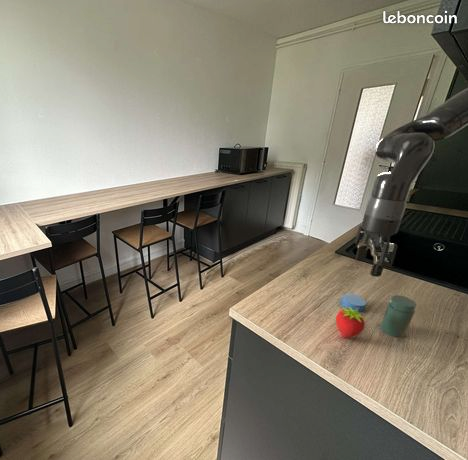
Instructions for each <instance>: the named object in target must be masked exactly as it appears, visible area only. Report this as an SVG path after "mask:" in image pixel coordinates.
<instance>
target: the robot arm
mask: <svg viewBox="0 0 468 460" xmlns="http://www.w3.org/2000/svg"><path fill="white" fill-rule="evenodd" d="M467 126H468V87H466V88H464V89H463V90H462V91H461V90H460V92H458V93H457V94H455V95H453V96H451V97H450V98H449V99H447V100H445V101H444V102H442V103H441V104H439V105H438V106H436V107H435V108H434V109H432V110H431V111H429V112H428V113H426V114H425V115H423V116H421V117H419V118H416V119H414V120H411V121H409V122H408V123H405V124H403V125H401V126H399V127H397V128H396V129H394V130H392V131H390V132H389V133H387V134H386V135H384V136H383V137H382V138H381V140H379V142H378V143H377V144H376V148H375V156H376V157H377V158H378V159H379V160H381V161H383V162H385V163H387V162H388V163H393V164H394V166H393V167H392V169H391V170H390V171H389V172H382V173H380V174H378V175H377V176H376V178H375V179H374V183H373V187H372V189H371V195H370V197H369V199H368V202H367V203H366V206H365V207H366V208H365V211H364V215H363V219H362V222H361V225H359V227H358V229H357V232H356V236H355V239H354V244H355V245H356V248H357V251H356V255H355V258H354V259H355V260H356V261H357V262H364V261H366V257H367V255H368V251H369V250H370V255H371V256H372V257H373V263H372V266H371V268H370V273H369V274H370V276H371V277H381V276H382V273H383V271H384V268H385V267H392V266H393V264H394V260H395V257H396V255H397V250H398V248H399V247H398V244H397V243H391V242H390V238H391V237H392V236H393V235H396V234H398V232H399V229H400V226H401V224H402V220H403V216H404V214H405V211H406V207H407V201H408V197H409V195H410V191H411V188H412V186H413V183H414V181H415V180H416V179H417V177H418V176H419V175H420V173H421V172H422V171H423V169H424V168H425V166H426V165H427V163H428V162H429V160H430V159H431V157H432V155H433V153H434V152H435V151H434V150H435V141H441V140H445V139H447V138H450V137H451V136H453V135H454V134H456V133H458V132H459V131H460V130H462V129H464V128H465V127H467ZM368 249H369V250H368Z"/></svg>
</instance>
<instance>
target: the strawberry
mask: <svg viewBox="0 0 468 460" xmlns="http://www.w3.org/2000/svg"><path fill="white" fill-rule="evenodd" d="M358 309H359V308H358ZM365 320H367V318H366V317H365V316H363V315H361V314H360V312H358V310H357V309H356V311H355V310H354V311H353V310H352V309H351V308H350V307H349V309H347V308H345V307H342V309H340V310H339V311H338V312H337V314H336V316H335V323H336V326H337V330H338V332H339V333H340V335H341V337H342V338H344V339H348V338H353V337H357V336H358V335H360V334H361V333H362V332H363V331H364V328H365Z"/></svg>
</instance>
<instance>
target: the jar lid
mask: <svg viewBox="0 0 468 460" xmlns="http://www.w3.org/2000/svg"><path fill="white" fill-rule="evenodd" d="M340 305H342V307H343V308H344V309H349V307H350V308H351V309H352V310H353V311H354V310H355V311H356V309H357V310H358V312H357V313H361V312H364V311H365V309H366V307H367V300H365V299H364V298H363V297H361V296H360V295H357V294H353V293H344V294H343V295H342V297H341V299H340ZM358 308H359V309H358Z"/></svg>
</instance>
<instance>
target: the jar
mask: <svg viewBox="0 0 468 460" xmlns="http://www.w3.org/2000/svg"><path fill="white" fill-rule="evenodd" d="M416 307H417V302H416V301H414V300H413V299H412V298H409V297H407V296H404V295H401V294H400V295H398V294H396V295H392V296H391V298H390V301H389V302H388V304H387V305H386V308H385V311H384V314H383V316H382V319H381V322H380V324H379V329H380V330H381V331H382V332H383V333H384V334H386V335H387V336H389V337H392V338H396V339H403V338H404V337H405V335H406V333H407V331H408V329H409V326H410V324H411V323H412V320H413V318H414V315H415V313H416V310H415V309H416Z"/></svg>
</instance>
